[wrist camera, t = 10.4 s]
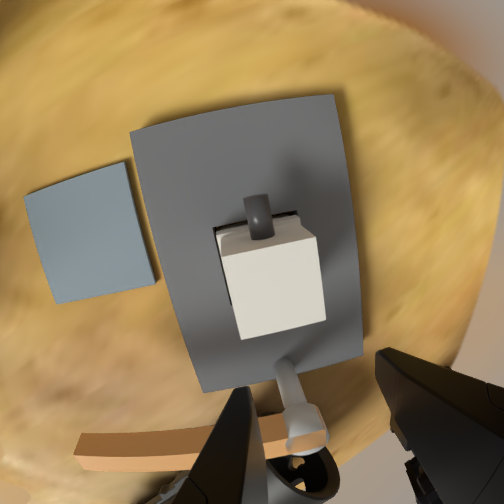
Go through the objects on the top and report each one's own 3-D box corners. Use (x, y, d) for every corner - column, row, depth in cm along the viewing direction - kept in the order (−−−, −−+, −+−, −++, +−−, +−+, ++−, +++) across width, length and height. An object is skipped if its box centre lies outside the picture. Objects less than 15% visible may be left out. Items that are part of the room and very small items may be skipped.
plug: (283, 181, 20) (313, 191, 13) (299, 277, 21) (330, 322, 15) (210, 196, 19) (206, 212, 13) (231, 292, 21) (237, 344, 15)
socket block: (325, 98, 18) (369, 74, 12) (356, 345, 23) (392, 395, 17) (136, 134, 18) (98, 122, 12) (203, 380, 23) (202, 443, 17)
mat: (125, 161, 18) (123, 161, 18) (156, 282, 20) (155, 284, 20) (26, 195, 18) (23, 196, 18) (58, 302, 20) (56, 304, 20)
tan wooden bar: (78, 428, 15) (69, 450, 14) (318, 398, 16) (329, 422, 14) (95, 452, 16) (88, 473, 14) (320, 425, 17) (330, 448, 15)
